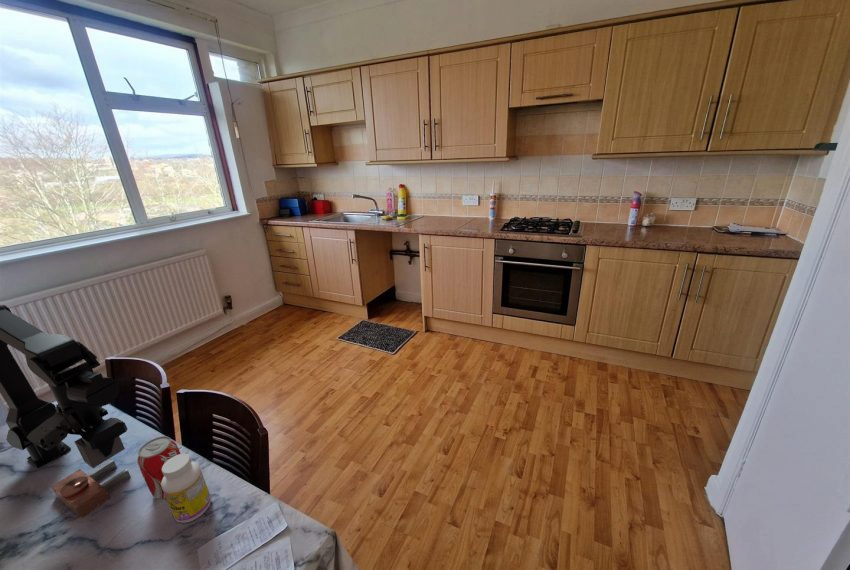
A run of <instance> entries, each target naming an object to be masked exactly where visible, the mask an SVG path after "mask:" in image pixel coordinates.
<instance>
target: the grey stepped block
mask: <svg viewBox="0 0 850 570" xmlns="http://www.w3.org/2000/svg"><path fill="white" fill-rule="evenodd" d="M104 420H107V419H104ZM82 440H83V439H82V437H80V438H78V439H76V440H74V441H73V442H74V444H75V446H76V447H77V448H76V449H78V451H79V454H80V456H81V457H82V459H83V462H84V463H85V464H87V466H89V467H90V468H92V469H95V468H96V467H98V466H99V465H101V464H104V462H106V461H108V460H110V459H111V458H112V457H114V456H116V455H117V454H119V453H120V452H122V451H124V450H126V449H125V448H126V447H125V446H124V443H123V441H122V439H121V437H120V436H118V437H116V438H115V440H114V444H113V449H112V453H111V454H110V455H109V456H107V457H105V456H104V455H103V454H102V453H101V452H100V451H99V450H98V449H94V450H92V449H91V448H89V447H88V446H86V445H84V444H83V443H82V442H81V441H82Z"/></svg>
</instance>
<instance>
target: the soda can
mask: <svg viewBox="0 0 850 570" xmlns="http://www.w3.org/2000/svg"><path fill="white" fill-rule="evenodd" d="M179 454H182V453H181V451H180V449H179V447H178V444H177V443H176V442H175V441H174V440H173V439H171V437H169V436H165V435H164V436H158V437H155V438H153V439H150V440H148V441H147V442H146V443H144V444H142V446H141V447H140V448H139V450H138V452H137V455H138V457H137V465H138V468H139V470H140V473H141V475H142V477H143V479H144V481H145V484H146V486H147V489H148V490H149V492H150V493H151V495H152V497H153V498H155V499H160V500H161V499H166V497H165V494H164V492H163V490H162V487H161V482H162V479H163V477H164V475H163V472H162V467H163V465H164V464H165V462H166V461H168V460H169V459H170V458H172V457H174V456H176V455H179Z"/></svg>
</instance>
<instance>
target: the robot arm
mask: <svg viewBox="0 0 850 570" xmlns="http://www.w3.org/2000/svg"><path fill="white" fill-rule="evenodd" d="M8 345H9V346H11V348H13V349H15V350H17V351H19V352H20V353H21V354H23V355H24V356H25V359H26V360H25V361H26V366H27V367H28V369H29V370H30V371H31V372H32V373H33V374H34V375H36V376H37V377H38V378H40V379H41V380H42V381H43V382H45V383H46V384H47V386H48V387H49V389H50V391H51V393H52V395H53V397H54V398H55V400H56V402H57V404H55V403H52V402H49V401H46V400H42V399H40V398H39V397H38V395H37V393H36V392H35V390H34V389H33V386H31V383H30V381H28V379H27V377H26V375H25V373H24V372H23V370H22V368H21V367H20V365H19V363H18V362H17V360H16V358H15V357H14V355H13V353H12V352H11V350H10V348H9V346H8ZM83 361H85V362H83ZM81 362H82V363H81ZM79 363H80V364H79ZM75 365H76V366H75ZM100 366H101V363H100V362H99V361H98V356H96V354H94V353H93V352H92V351H91V350H90V349H88V347H86V345H85V344H83V343H81V341H79V340H75V339H74V338H71V337H69V336H67V335H65V334H62V333H59V334H58V333H46V332H45V331H43V330H42V329H40V328H38V327H36V326H34V325H33V324H31V323H30V322H28V321H26V320H25V319H23V318H22V317H19V315H16V314H15V313H13V312H12V311H11V309H10V308H9V307H8V306H7V305H4V304H1V305H0V396H2V398H3V400H4V401H5V403H6V405H7V406H8V407H9V409H8V412H7V415H6V418H5V423H6V425H7V426H8V431H7V435H6V438H5V439H6V442H7V443H8V444H9V445H10V447H12V448H14V449H18V450H21V451H24V450H25V449H26V451H27V453H28V455H29V456H28V457H27V458H26V460H27V461H28V462H29V463H30V464H31V465H33V466H34V467H35V468H37V469H39V468H40V467H42V466H44V465H46V464H48V463H49V462H51V461H53V460H55V459H57V458H59V457H60V456H62V455H64V454H65V453H67V452H69V451H71V450H72V447H71V446H70V445H68V444H66V443H65V442H64V441H63V440H65V439H66V438H67V437H68V435H74V436H75V435H77V436H80V438H82V439H83V440H82V441H81V442H82V443H83V444H84V445H86V446H88V447H89V448H91V449H92V450H94V449H98V450H99V451H100V452H101V453H102V454H103V455H104V456H105V457H107V456H109V455H110V454H111V453H112V449H113V444H114V440H115V438H116V437H118V436H119V437H120V436H122V435H123V434H125V433H127V431H128V427H127V424H126V422H124V421H123V420H121V419H119V418H117V417H108V418H107V419H106V420H105V419H104V418H103V417H106V416H107V415H109V412H108V410H107V409H106V408H104V407H106V406H108V405H109V404H111V403H112V402H113V401H115V399H117V397H118V395H119V393H120V389H121V387H120V383H119V382H118V381H117V380H116V379H115V378H112V377H107V376H104V375H102V373H101V372H94V369H96V368H97V367H100Z"/></svg>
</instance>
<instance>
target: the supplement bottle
mask: <svg viewBox="0 0 850 570" xmlns="http://www.w3.org/2000/svg"><path fill="white" fill-rule="evenodd" d="M162 472H163V475H164V477H163V479H162V482H161V487H162V490H163V492H164V494H165V497H166V498H165V499H166V501H167V503H168V505H169V508H170V510H171V511H170V512H171V513H172V515H173V518H174V520H175V521H176V522H178V523H182V524H183V523H184V524H185V523H190V522H192V521H194V520H196V519H198V518H200V517H201V516H202V515H204V513H206V511H207V510H208V509H209V507H210V505H211V502H212V497H211V493H210V491H209V488H208V485H207V483H206V480H205V478H204V474H203V472H202V469H201V467H200V465H199V463H197V462H195V461H193V460H192V459H191V457H190V455H189V454H187V453H181V454H179V455H176V456H174V457H172V458H170V459H169V460H168V461H166V462H165V464H164V465H163V467H162Z"/></svg>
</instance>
